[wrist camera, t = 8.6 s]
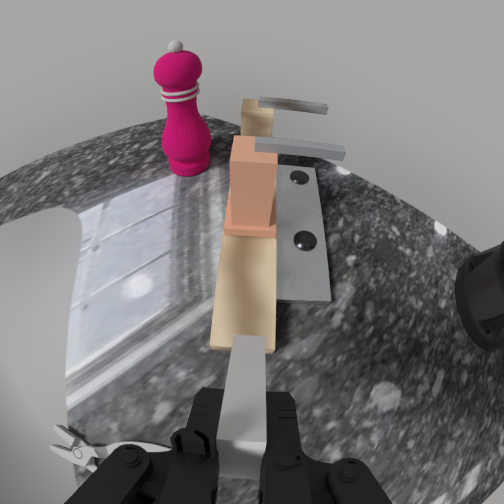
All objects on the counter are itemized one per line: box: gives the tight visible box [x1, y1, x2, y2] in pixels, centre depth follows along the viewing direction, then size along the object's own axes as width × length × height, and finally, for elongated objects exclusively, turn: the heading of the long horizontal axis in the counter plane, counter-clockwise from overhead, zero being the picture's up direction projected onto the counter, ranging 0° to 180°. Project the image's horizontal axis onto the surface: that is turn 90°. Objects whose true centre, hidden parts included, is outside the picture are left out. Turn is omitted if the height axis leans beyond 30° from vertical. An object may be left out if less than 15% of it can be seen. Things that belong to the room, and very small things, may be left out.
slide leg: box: [224, 136, 346, 238], centre depth 27 cm, size 11×5×11 cm, turn 87°
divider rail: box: [210, 97, 328, 354], centre depth 27 cm, size 11×26×13 cm, turn 177°
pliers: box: [50, 425, 171, 472], centre depth 17 cm, size 10×2×15 cm
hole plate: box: [276, 165, 331, 305], centre depth 34 cm, size 6×21×1 cm, turn 177°
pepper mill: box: [154, 40, 211, 176], centre depth 31 cm, size 7×7×20 cm
